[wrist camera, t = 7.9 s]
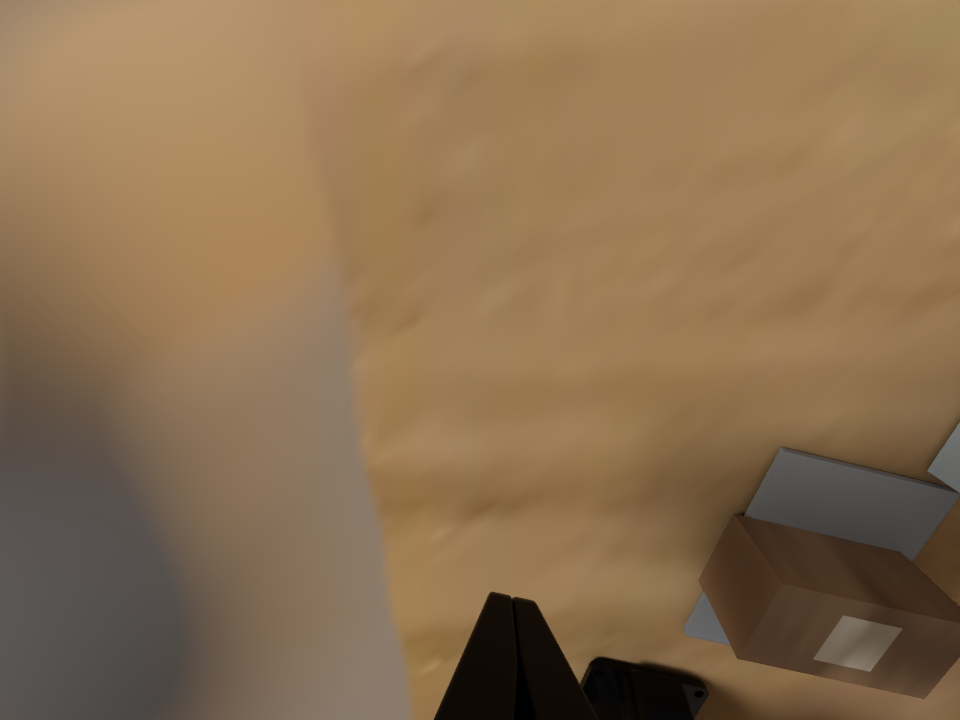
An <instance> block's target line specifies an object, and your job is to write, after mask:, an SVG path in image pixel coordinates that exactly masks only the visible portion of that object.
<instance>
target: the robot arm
mask: <svg viewBox="0 0 960 720" xmlns="http://www.w3.org/2000/svg"><path fill="white" fill-rule="evenodd" d="M708 694H709V693H708V690H707V688H706V685H705V683H704V682H702V681H700V680H695V679H691V678H686V677H681V676H677V675H672V674H667V673H663V672H658V671H653V670H649V669H644V668H639V667H635V666H630V665H626V664H621V663H616V662H612V661H607V660H602V659H595V660H593V661H591V662H590V664H589V666H588V668H587V670H586V672H585V674H584V676H583V679H582V681H581V683H580V684H579V682H578V680H577V678H576V676H575V675H574V673H573V671H572V669H571V667H570V665H569V663H568V662H567V660H566V658H565V656H564V654H563V652H562V650H561V649H560V647H559V645H558V643H557V641H556V639H555V637H554V635H553V634H552V632H551V630H550V628H549V626H548V624H547V622H546V621H545V619H544V617H543V615H542V613H541V611H540V609H539V608H538V606H537V604H536V603H535V602H534V601H532V600H528V599H524V598H519V597H514V598H511V597H510V596H509V595H505V594H501V593H496V592H491V593H489V595H488V597H487V600H486V602H485V604H484V606H483V609H482V611H481V613H480V615H479V618H478V620H477V622H476V625H475V627H474V629H473V631H472V634H471V636H470V638H469V640H468V643H467V645H466V647H465V650H464V652H463V654H462V656H461V659H460V661H459V663H458V665H457V668H456V670H455V672H454V675H453V677H452V679H451V681H450V684H449V686H448V688H447V690H446V693H445V695H444V697H443V700H442V702H441V704H440V706H439V709H438V711H437V713H436V715H435V718H434V720H695V719H694V718H695V716H696V715H697V713H698V711H699V710H700V708H701V706H702V705H703V703H704V702H705V700H706V698H707V697H708Z"/></svg>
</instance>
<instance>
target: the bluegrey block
mask: <svg viewBox="0 0 960 720" xmlns="http://www.w3.org/2000/svg"><path fill="white" fill-rule="evenodd" d="M927 471H928V472H929V473H931V474H932V475H934V476H935V477H937V478H938V479H940V480H941V481H943V482H944V483H946V484H947V485H949V486H950V487H952V488H953V489H955V490H956V491H957V492H959V493H960V422H959V424H958V425H957V427H956V428H955V430H954V431H953V433H952V434H951V436H950V437H949V439H948V440H947V442H946V443H945V445H944V446H943V448H942V449H941V451H940V452H939V453H938V455H937V456H936V458H935V459H934V461H933V462H932V464H931V465H930V467H929V468H928V470H927Z"/></svg>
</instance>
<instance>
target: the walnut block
mask: <svg viewBox="0 0 960 720" xmlns="http://www.w3.org/2000/svg"><path fill="white" fill-rule="evenodd" d="M699 582H700V584H701V586H702V588H703V590H704V592H705V594H706V596H707V598H708V600H709V602H710V604H711V606H712V609H713V611H714V613H715V615H716V617H717V619H718V621H719V623H720V625H721V627H722V629H723V631H724V633H725V635H726V637H727V639H728V641H729V643H730V645H731V647H732V649H733V651H734V653H735V655H736V657H737V659H741V660H746V661H751V662H755V663H760V664H765V665H769V666H774V667H778V668H783V669H788V670H792V671H797V672H802V673H806V674H811V675H816V676H820V677H825V678H829V679H834V680H839V681H843V682H848V683H853V684H857V685H862V686H867V687H871V688H876V689H880V690H885V691H890V692H894V693H899V694H904V695H908V696H913V697H918V698H922V699H925V698H926V696H927V695H928V694H929V693H930V692H931V690H932V689H933V688H934V687H935V686H936V684H937V683H938V682H939V681H940V680H941V679H942V677H943V676H944V675H945V674H946V673H947V671H948V670H949V669H950V668H951V667H952V665H953V664H954V663H955V662H956V661H957V660H958V658H959V657H960V607H959V606H958V605H957V604H956V603H955V602H954V601H953V600H952V599H951V598H950V597H949V596H947V595H946V594H945V593H944V592H943V591H942V590H941V589H940V588H939V587H938V586H937V585H936V584H935V583H933V582H932V581H931V580H930V579H929V578H928V577H927V576H926V575H925V574H924V573H923V572H922V571H921V570H919V569H918V568H917V567H916V566H915V565H914V564H913V563H912V562H911V561H910V560H909V559H908V558H907V557H905V556H904V555H903V554H902V553H901V552H899V551H895V550H890V549H886V548H882V547H877V546H873V545H869V544H864V543H860V542H855V541H851V540H847V539H842V538H838V537H834V536H829V535H825V534H821V533H816V532H812V531H807V530H803V529H799V528H794V527H790V526H786V525H781V524H777V523H773V522H768V521H764V520H760V519H755V518H751V517H747V516H742V515H738V514H733V515H732V517H731V519H730V521H729V523H728V525H727V527H726V529H725V531H724V533H723V535H722V536H721V538H720V540H719V542H718V544H717V546H716V548H715V550H714V552H713V554H712V556H711V557H710V559H709V561H708V563H707V565H706V567H705V569H704V571H703V573H702V575H701V577H700V578H699Z"/></svg>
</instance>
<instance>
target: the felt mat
mask: <svg viewBox="0 0 960 720" xmlns="http://www.w3.org/2000/svg"><path fill="white" fill-rule="evenodd" d="M959 497H960V493H959V492H957V491H956V490H955V489H953V488H950V487H945V486H941V485H937V484H933V483H929V482H925V481H920V480H916V479H912V478H908V477H904V476H900V475H895V474H891V473H887V472H883V471H879V470H875V469H870V468H866V467H862V466H858V465H854V464H850V463H845V462H841V461H837V460H833V459H829V458H825V457H820V456H816V455H812V454H808V453H804V452H800V451H796V450H791V449H787V448H783V447H781V448H780V450H779V451H778V453H777V455H776V457H775V459H774V461H773V463H772V464H771V466H770V468H769V470H768V472H767V474H766V476H765V477H764V479H763V481H762V483H761V485H760V487H759V489H758V490H757V492H756V494H755V496H754V498H753V500H752V502H751V503H750V505H749V507H748V509H747V511H746V513H745V514H744V516H747V517H751V518H755V519H760V520H764V521H768V522H773V523H777V524H781V525H786V526H790V527H794V528H799V529H803V530H807V531H812V532H816V533H821V534H825V535H829V536H834V537H838V538H842V539H847V540H851V541H855V542H860V543H864V544H869V545H873V546H877V547H882V548H886V549H890V550H895V551H899V552H901V553H902V554H903V555H904V556H905V557H907V558H908V559H909V560H910V561H911V562H912V561H913V560H914V559H915V557H916V556H917V554H918V553H919V552H920V550H921V549H922V548H923V546H924V545H925V543H926V542H927V541H928V539H929V538H930V537H931V535H932V534H933V532H934V531H935V530H936V528H937V527H938V525H939V524H940V523H941V521H942V520H943V519H944V517H945V516H946V514H947V513H948V512H949V510H950V509H951V508H952V506H953V505H954V503H955V502H956V501H957V499H958V498H959ZM683 630H684V632H685V635H686V636H690V637H695V638H699V639H704V640H708V641H713V642H717V643H722V644H726V645H730V643H729V641H728V639H727V637H726V635H725V633H724V631H723V629H722V627H721V625H720V623H719V621H718V619H717V617H716V615H715V613H714V611H713V609H712V606H711V604H710V602H709V600H708V598H707V596H706V594H705V592H704V591H703V592H702V594H701V596H700V598H699V600H698V602H697V604H696V605H695V607H694V609H693V611H692V613H691V615H690V617H689V618H688V620H687V622H686V624H685V626H684V628H683Z"/></svg>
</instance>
